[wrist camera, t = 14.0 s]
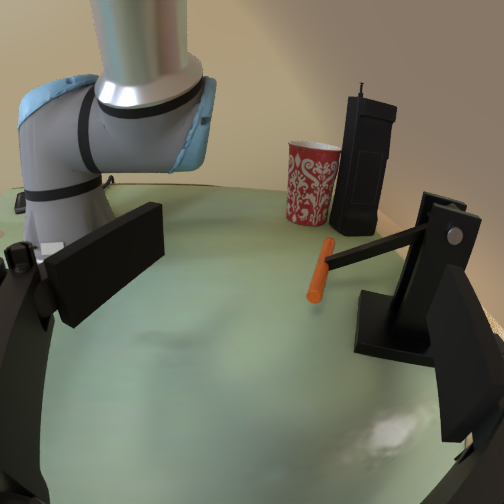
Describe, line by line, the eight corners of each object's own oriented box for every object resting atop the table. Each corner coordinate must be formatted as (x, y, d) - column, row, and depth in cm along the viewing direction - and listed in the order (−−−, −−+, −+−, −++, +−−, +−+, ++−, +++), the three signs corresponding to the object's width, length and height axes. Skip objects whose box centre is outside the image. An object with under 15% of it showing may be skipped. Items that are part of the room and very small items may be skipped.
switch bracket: (353, 352, 25) (399, 203, 19) (358, 298, 33) (388, 178, 27) (457, 371, 22) (521, 238, 16) (443, 317, 30) (484, 205, 24)
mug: (311, 233, 49) (323, 149, 43) (270, 215, 54) (277, 140, 48) (349, 218, 57) (360, 149, 51) (311, 204, 62) (320, 140, 56)
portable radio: (362, 222, 56) (382, 91, 44) (379, 235, 50) (404, 93, 39) (326, 222, 54) (345, 82, 42) (342, 236, 48) (365, 81, 37)
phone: (14, 209, 48) (17, 193, 58) (15, 214, 49) (18, 197, 59) (46, 201, 53) (44, 186, 63) (47, 206, 53) (45, 190, 63)
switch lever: (312, 311, 24) (300, 286, 23) (328, 253, 33) (320, 234, 32) (482, 258, 17) (477, 228, 17) (447, 212, 26) (441, 191, 26)
